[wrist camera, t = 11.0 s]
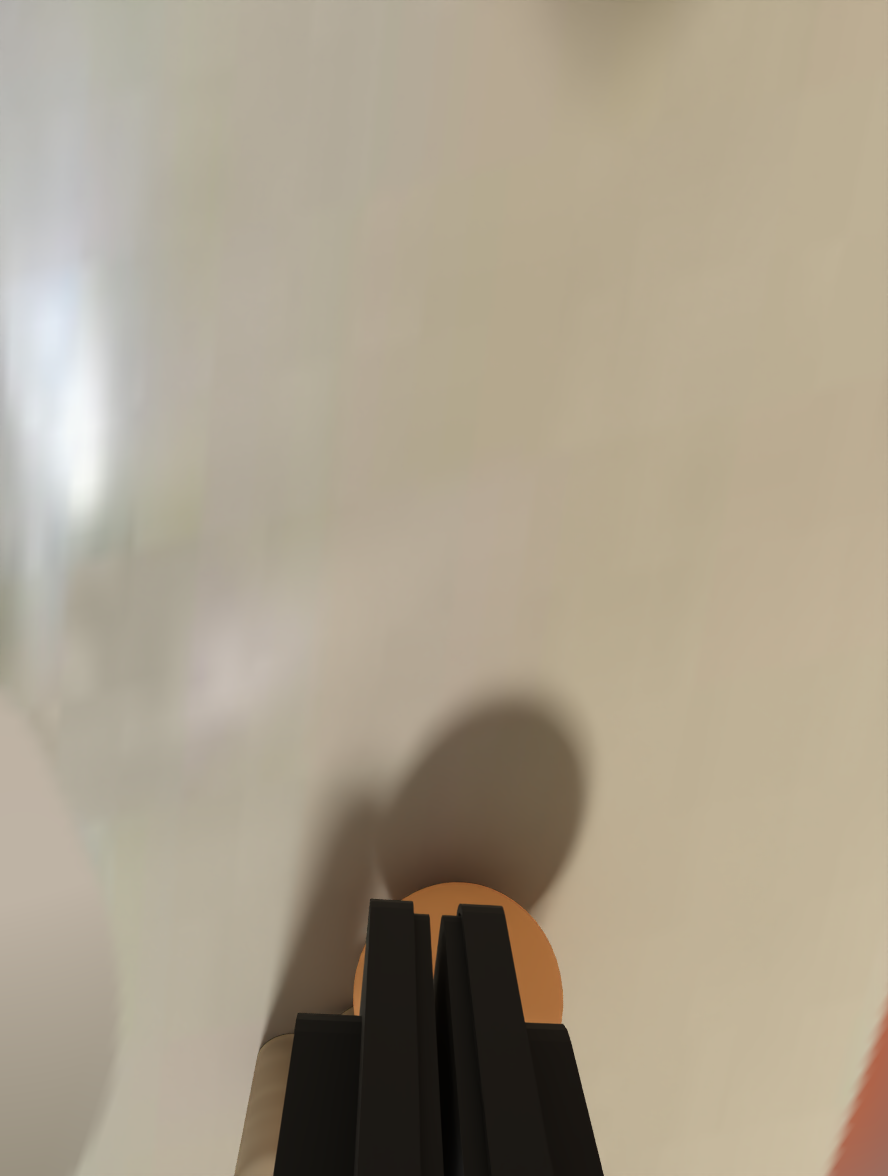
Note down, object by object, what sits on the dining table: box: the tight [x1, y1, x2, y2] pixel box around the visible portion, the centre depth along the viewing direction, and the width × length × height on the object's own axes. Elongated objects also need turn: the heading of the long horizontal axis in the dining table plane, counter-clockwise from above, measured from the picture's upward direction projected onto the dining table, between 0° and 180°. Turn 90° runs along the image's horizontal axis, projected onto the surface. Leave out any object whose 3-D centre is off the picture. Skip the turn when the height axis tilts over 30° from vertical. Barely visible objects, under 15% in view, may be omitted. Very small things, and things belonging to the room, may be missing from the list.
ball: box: [353, 882, 563, 1024], centre depth 23 cm, size 6×6×6 cm
